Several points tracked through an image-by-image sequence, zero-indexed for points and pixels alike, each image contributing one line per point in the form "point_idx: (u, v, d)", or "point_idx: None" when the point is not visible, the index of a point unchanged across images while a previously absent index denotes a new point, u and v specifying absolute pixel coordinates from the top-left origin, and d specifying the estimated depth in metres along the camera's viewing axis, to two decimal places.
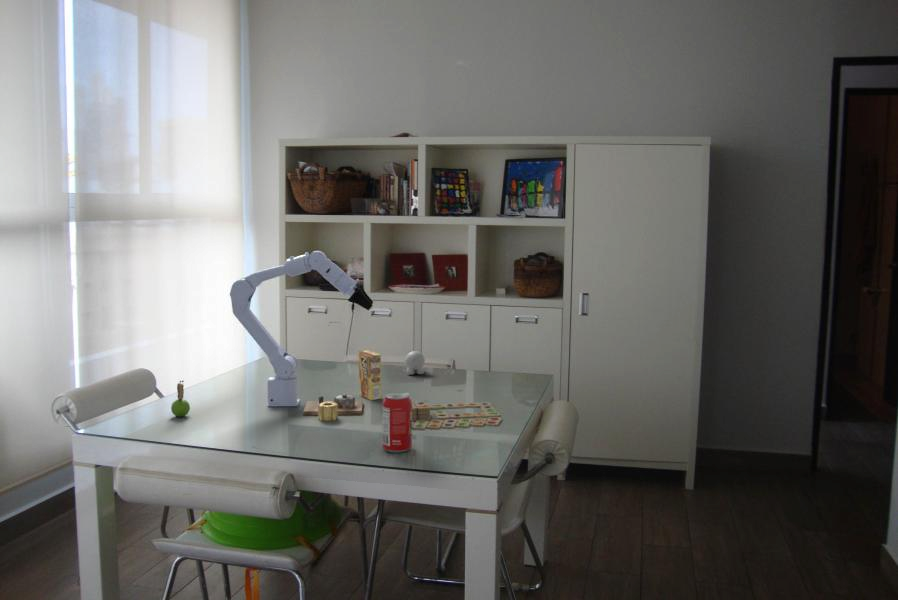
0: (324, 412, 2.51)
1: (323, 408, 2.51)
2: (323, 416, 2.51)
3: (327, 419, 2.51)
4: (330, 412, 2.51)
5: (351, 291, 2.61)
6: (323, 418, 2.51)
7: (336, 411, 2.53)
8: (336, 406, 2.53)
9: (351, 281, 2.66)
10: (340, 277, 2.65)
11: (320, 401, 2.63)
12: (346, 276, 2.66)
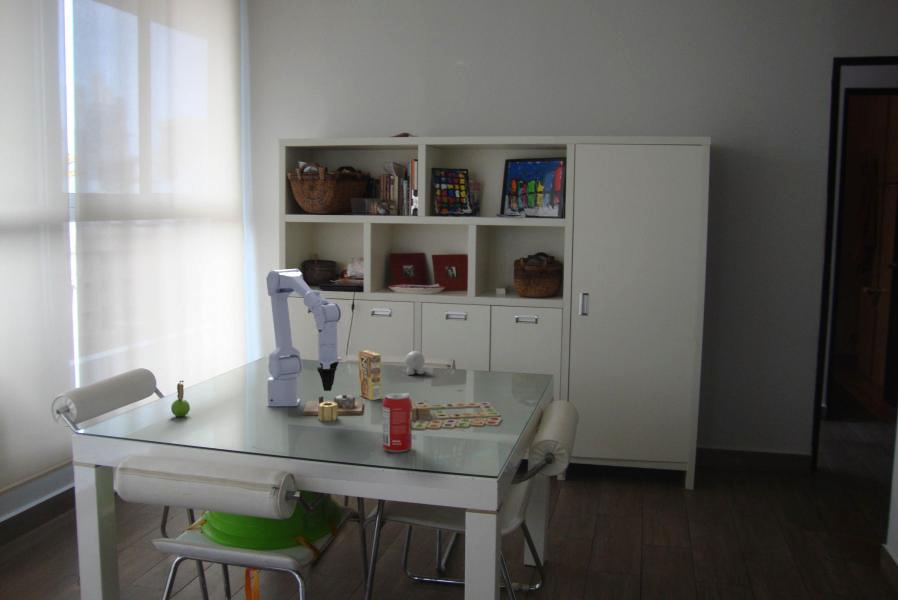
0: (324, 412, 2.51)
1: (323, 408, 2.51)
2: (323, 416, 2.51)
3: (327, 419, 2.51)
4: (330, 412, 2.51)
5: (327, 366, 2.44)
6: (323, 418, 2.51)
7: (336, 411, 2.53)
8: (336, 406, 2.53)
9: (334, 356, 2.49)
10: (330, 345, 2.48)
11: (320, 401, 2.63)
12: (335, 348, 2.50)
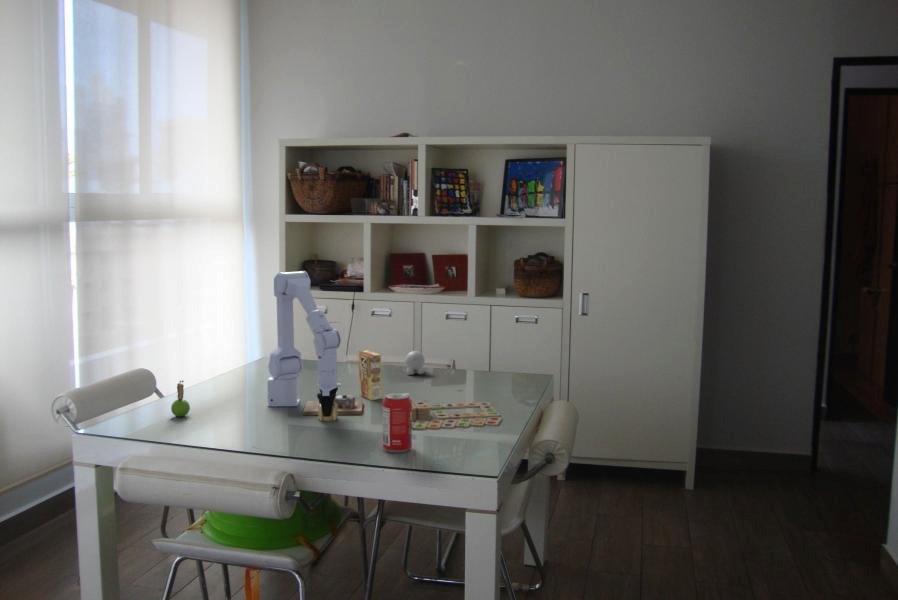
0: None
1: None
2: (323, 416, 2.51)
3: (327, 419, 2.51)
4: None
5: (326, 393, 2.45)
6: (323, 418, 2.51)
7: (336, 411, 2.53)
8: (336, 406, 2.53)
9: (333, 382, 2.50)
10: (329, 371, 2.49)
11: None
12: (334, 375, 2.50)
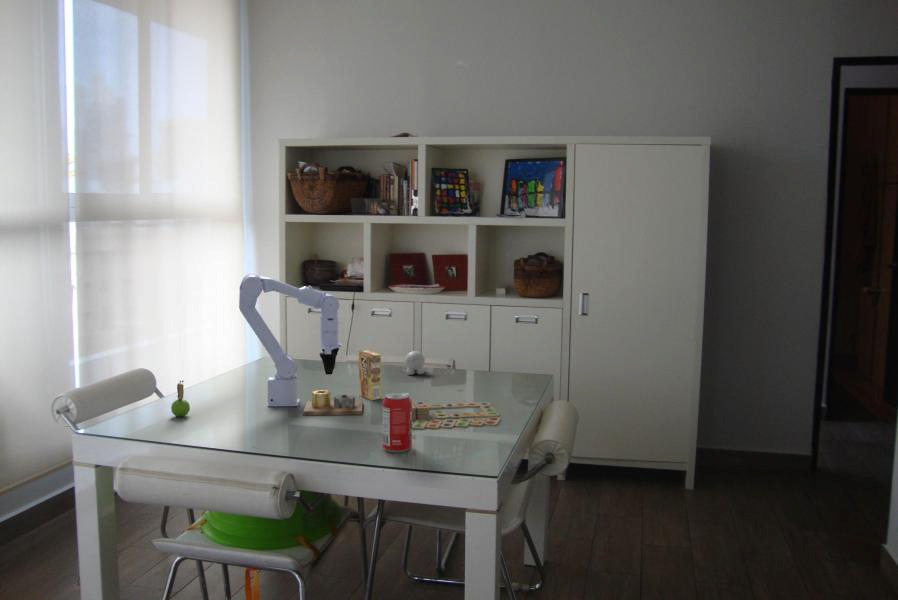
0: (318, 399, 2.61)
1: (317, 395, 2.61)
2: (317, 403, 2.62)
3: (320, 406, 2.61)
4: (323, 399, 2.62)
5: (329, 351, 2.66)
6: (316, 405, 2.62)
7: (329, 398, 2.64)
8: (329, 394, 2.63)
9: (335, 342, 2.71)
10: (331, 332, 2.70)
11: None
12: (336, 335, 2.71)
